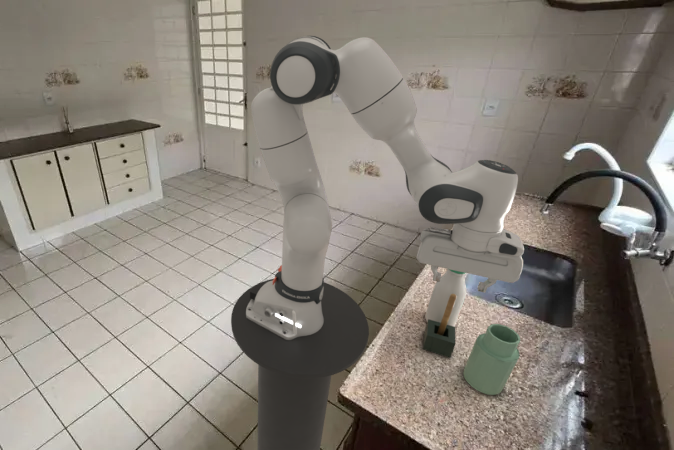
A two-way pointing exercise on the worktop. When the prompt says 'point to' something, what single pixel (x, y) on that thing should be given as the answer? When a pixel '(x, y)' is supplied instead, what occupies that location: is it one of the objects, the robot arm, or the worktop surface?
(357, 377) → the worktop surface
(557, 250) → the worktop surface
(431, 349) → the spoon holder
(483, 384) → the green jar
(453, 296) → the wooden stick
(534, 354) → the worktop surface
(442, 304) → the milk bottle
